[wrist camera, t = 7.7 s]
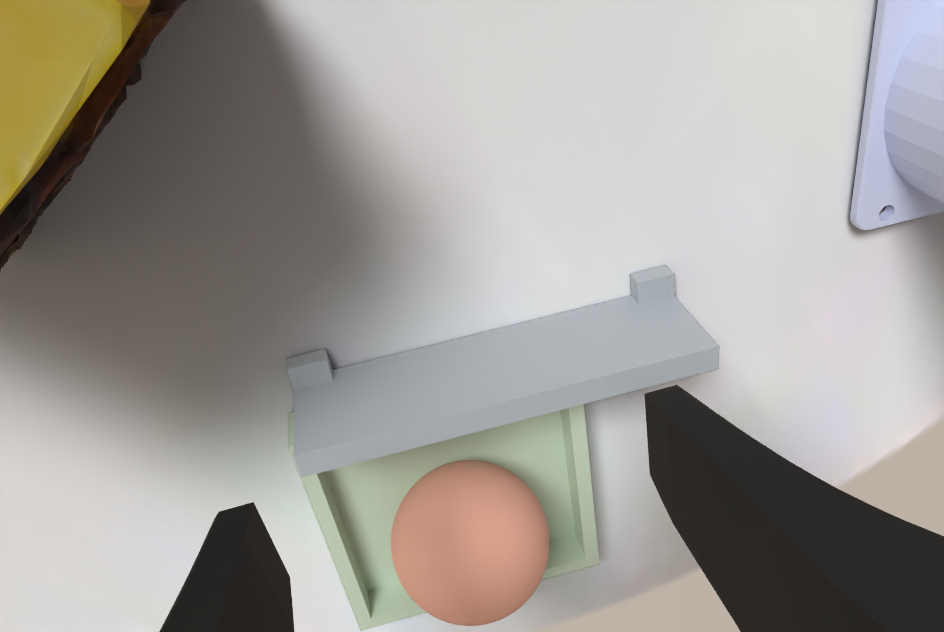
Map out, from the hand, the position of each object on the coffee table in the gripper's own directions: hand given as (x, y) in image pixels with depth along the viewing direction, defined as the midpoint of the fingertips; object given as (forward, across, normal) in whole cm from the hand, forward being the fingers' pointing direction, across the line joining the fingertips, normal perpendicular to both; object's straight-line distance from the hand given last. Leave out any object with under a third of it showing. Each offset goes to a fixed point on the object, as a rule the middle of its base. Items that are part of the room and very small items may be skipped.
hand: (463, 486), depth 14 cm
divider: (+9, -2, +4) cm, 10 cm away
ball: (+6, 0, +9) cm, 11 cm away
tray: (+9, 0, +9) cm, 13 cm away
